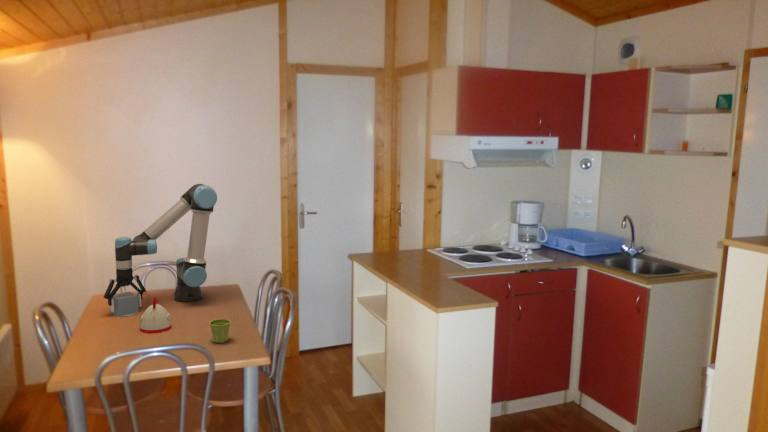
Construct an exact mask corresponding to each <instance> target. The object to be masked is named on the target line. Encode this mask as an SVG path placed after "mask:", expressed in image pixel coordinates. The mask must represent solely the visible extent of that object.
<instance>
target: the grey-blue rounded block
mask: <svg viewBox="0 0 768 432" xmlns="http://www.w3.org/2000/svg"><path fill="white" fill-rule="evenodd" d="M112 299H113V300H114V312H111V311H110V310H109V312H110V314H112V315H113V314H115V315H117V316H116V317H118V318H119V316H122V315H127V314H131V313H136V312H140V310H139V306H138V296H137V294H135V293H133V292H131V291H125V292H121V293H116V294H115V295H114V296H113V298H112Z"/></svg>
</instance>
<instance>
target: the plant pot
mask: <svg viewBox="0 0 768 432" xmlns="http://www.w3.org/2000/svg"><path fill="white" fill-rule="evenodd" d="M231 323H232V321H231V319H227V318H216V319H212V320H210V321H208V325H209V326H210V329H211V334H212V340H213V341H212V342H213V343H219V344H222V343H226V342H227V341H228V339H229V332H230V331H229V330H230V326H231Z"/></svg>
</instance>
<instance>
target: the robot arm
mask: <svg viewBox="0 0 768 432" xmlns="http://www.w3.org/2000/svg"><path fill="white" fill-rule="evenodd" d="M217 195H218V194H217V192H216V191H215V189H214V188H213V187H212V186H210V185H205V184H203V183H196V184H194V185H192V186H191V187H190V188H189V189H188V190H186V191H184V193H183V194H182V195H181V196H180V197H179V200H178V201H177V202H176V203H175V204H174V205H172V206H171V207H170V208H169V209H168V210H166V212H164V213H163V214H162V215H161V216H160V217H158V218H157V219H156V220H155V221H154V222H153V223H152V224H150V225H149V226H148V227H147V228H146V229H144V230H143V231H142V232H141V233H140V234H138V235H135V236H134V237H133V239H132V238H131V237H130V236H121V237H117V238H115V240H114V254H115V255H114V257H115V275H116V276H115V277H116V278H110V279H109V283H108V286H107V289H106V291H105V292H104V295H103V298H104V299H105V300H107V305H108V306H109V312H110V311H111V312H114V300H113V299H112V298H113V296H114V295H115V294H117V292H118V291H119V290H120V289H121V287H122V288H123V287H124V288H125V287H129V286H131V287H132V288H133V289H134V290H135V291H136V292H137V293H136V295H137V296H138V308H140V307H142V300H143V295H144V293H146V292H147V290H146V288H145V286H144V285H143V283H142V281H141V279H140V275H138V274H135V275H134V274H133V256H147V255H149V256H150V255H155V254H157V252H158V244H157V240H158V239H159V238H160V237H161V236H162V235H163V234H165V232H167V231H168V230H169V229H170V228H171V227H173V225H175V224H176V223H177V222H178V221H180V219H182V218H183V217H184V216H186V214H188V213H189V212H190V211H191V212H192V216H191V217H192V218H191V223H190V224H191V225H190V232H189V241H188V247H187V255H186V257H179V258H177V259H176V261H175V263H176V264H175V265H176V266H175V267H176V288H175V290H174V294H173V300H174V301H177V302H184V303H188V302H189V303H190V302H195V301H199V300H202V299H203V297H204V296H203V291H202V288H201V286H202V285H203V284H204V283H205V282H206V280H207V278H208V274H207V270H206V267H207V261H206V259H205V253H206V244H207V239H208V238H207V237H208V230H209V222H210V216H211V214H212V213H213V212H214V208H215V205H216V203H217V201H218V196H217ZM133 280H134V281H136V284H137V285H138V286H139V287H138V286H137V285H136V284H135V283H134V282H133ZM114 284H115V286H114ZM111 312H110V313H111Z"/></svg>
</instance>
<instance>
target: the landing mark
mask: <svg viewBox="0 0 768 432" xmlns="http://www.w3.org/2000/svg"><path fill="white" fill-rule="evenodd" d="M139 312H140V311H139ZM139 312H136V313H131V314H127V315H122V316H119V317H121V318H123V317H124V318H125V317H130V316H131V317H132V316H135V315H138V314H139ZM112 315H113V316H115V317H118V316H117V315H115V314H113V313H112ZM119 317H118V318H119Z"/></svg>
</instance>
